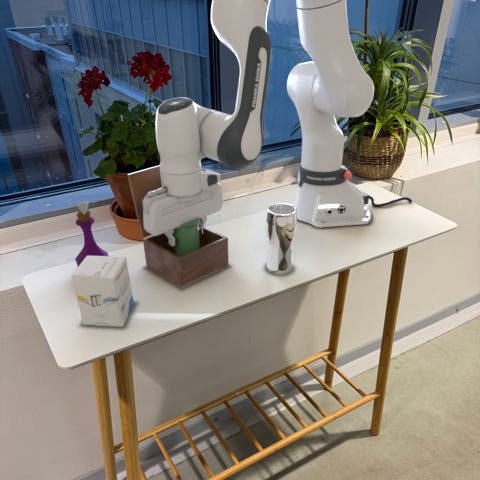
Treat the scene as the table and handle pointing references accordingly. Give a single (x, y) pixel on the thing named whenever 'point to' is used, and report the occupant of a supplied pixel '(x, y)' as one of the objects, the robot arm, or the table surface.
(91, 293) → the ink box
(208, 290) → the table surface
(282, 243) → the beer glass
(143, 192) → the lid
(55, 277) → the table surface
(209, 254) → the box
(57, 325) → the table surface
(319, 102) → the robot arm
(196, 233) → the green cylinder canister
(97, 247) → the perfume bottle
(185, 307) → the table surface
